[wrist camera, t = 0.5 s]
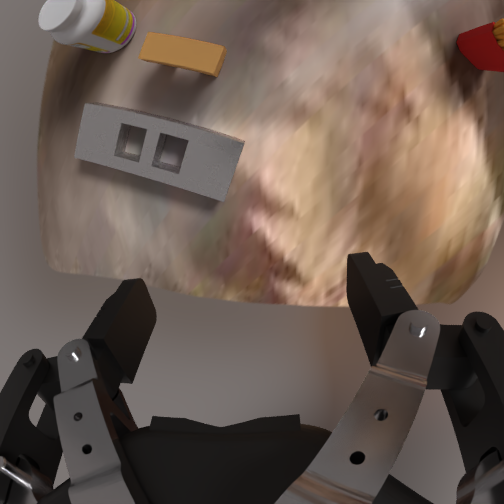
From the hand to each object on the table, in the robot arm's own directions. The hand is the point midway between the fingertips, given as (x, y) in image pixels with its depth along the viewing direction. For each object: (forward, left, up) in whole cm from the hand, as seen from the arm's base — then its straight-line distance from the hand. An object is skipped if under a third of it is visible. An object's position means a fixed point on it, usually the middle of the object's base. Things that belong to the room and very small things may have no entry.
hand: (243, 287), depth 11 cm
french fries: (-30, +22, -25) cm, 45 cm away
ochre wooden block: (-10, -11, -25) cm, 29 cm away
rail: (+1, -12, -25) cm, 28 cm away
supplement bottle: (-12, -23, -25) cm, 36 cm away
